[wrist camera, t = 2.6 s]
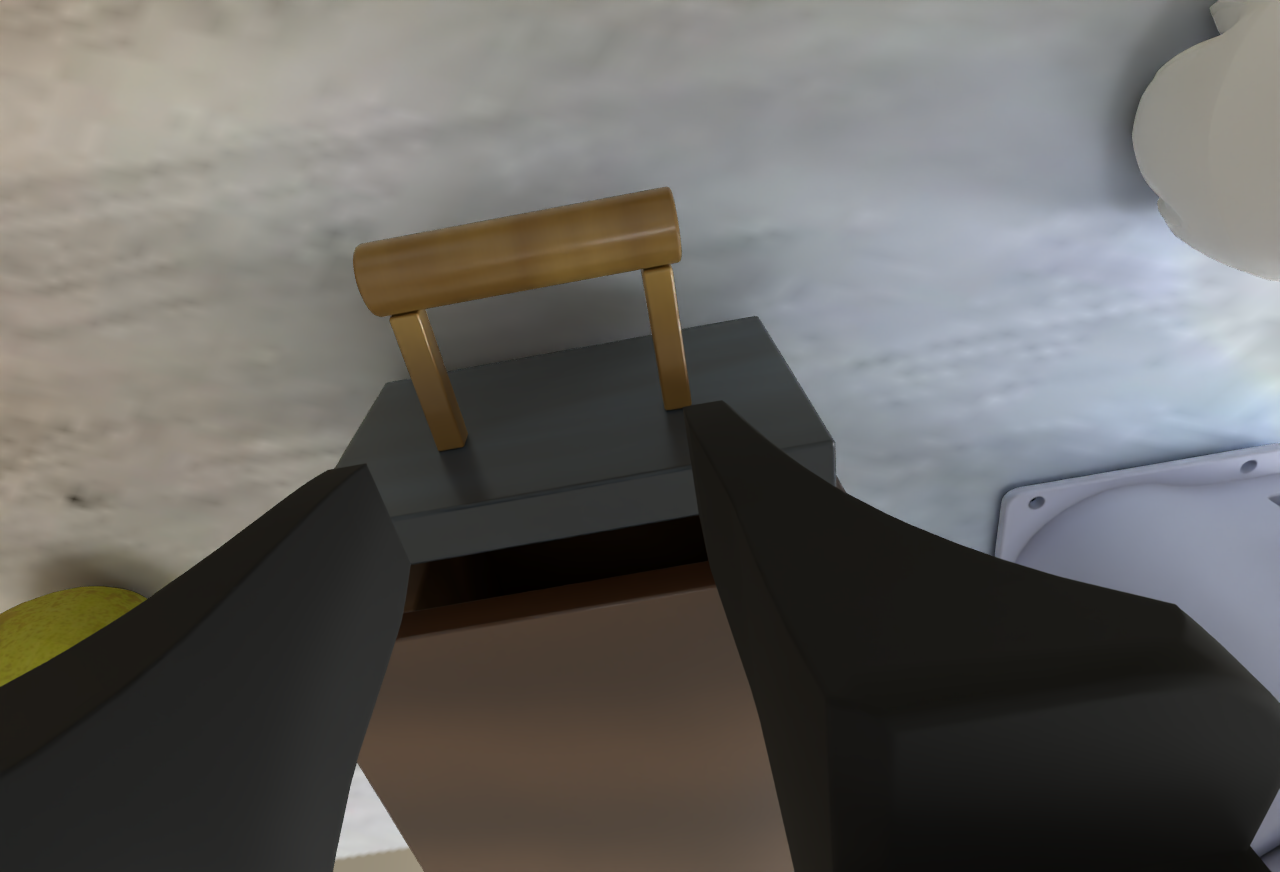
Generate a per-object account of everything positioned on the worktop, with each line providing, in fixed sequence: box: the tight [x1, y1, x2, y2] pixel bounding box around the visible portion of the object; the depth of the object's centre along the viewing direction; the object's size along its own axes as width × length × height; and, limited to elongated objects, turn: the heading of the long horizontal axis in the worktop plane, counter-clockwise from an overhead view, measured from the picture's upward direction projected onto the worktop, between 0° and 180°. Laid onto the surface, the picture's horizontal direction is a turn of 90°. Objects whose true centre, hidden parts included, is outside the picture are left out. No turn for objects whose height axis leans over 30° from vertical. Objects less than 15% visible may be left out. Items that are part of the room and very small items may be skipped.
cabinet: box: [357, 476, 846, 872], centre depth 20 cm, size 14×12×9 cm
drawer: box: [334, 187, 836, 613], centre depth 18 cm, size 17×10×7 cm, turn 9°
